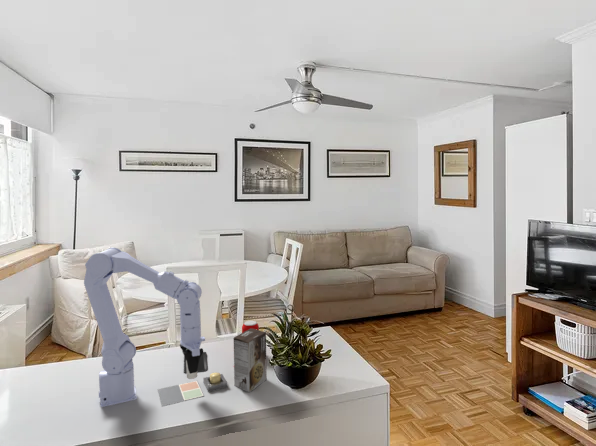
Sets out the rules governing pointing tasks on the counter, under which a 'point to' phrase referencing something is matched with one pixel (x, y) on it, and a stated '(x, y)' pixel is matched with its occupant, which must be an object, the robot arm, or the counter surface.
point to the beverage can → (249, 325)
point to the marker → (192, 375)
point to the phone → (201, 366)
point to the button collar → (215, 386)
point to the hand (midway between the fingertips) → (191, 369)
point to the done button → (215, 378)
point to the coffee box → (250, 359)
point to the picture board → (180, 393)
